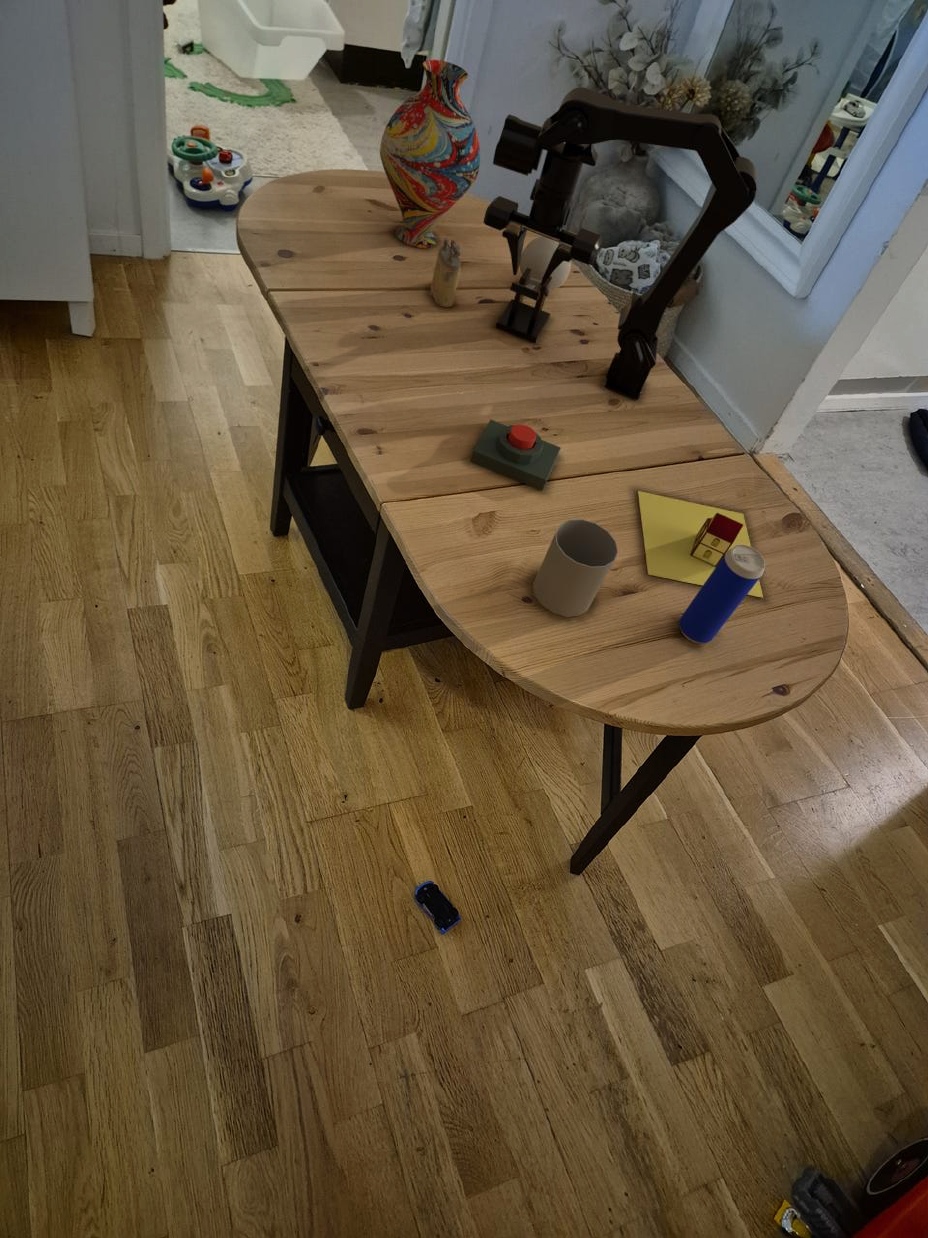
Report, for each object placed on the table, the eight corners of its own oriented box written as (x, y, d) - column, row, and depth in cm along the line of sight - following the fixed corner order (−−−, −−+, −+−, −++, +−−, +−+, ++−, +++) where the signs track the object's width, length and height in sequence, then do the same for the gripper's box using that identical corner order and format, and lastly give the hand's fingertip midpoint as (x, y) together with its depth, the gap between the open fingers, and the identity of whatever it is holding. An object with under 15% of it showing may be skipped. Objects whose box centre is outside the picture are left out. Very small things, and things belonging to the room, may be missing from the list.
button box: (556, 457, 127) (564, 438, 124) (542, 491, 121) (550, 471, 118) (487, 429, 128) (493, 409, 125) (469, 461, 122) (475, 441, 119)
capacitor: (455, 308, 148) (467, 256, 141) (435, 307, 147) (446, 255, 139) (445, 286, 152) (456, 235, 145) (426, 285, 151) (436, 234, 143)
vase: (360, 209, 164) (380, 39, 141) (446, 216, 170) (479, 55, 147) (382, 259, 153) (407, 84, 130) (473, 264, 160) (512, 99, 137)
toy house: (691, 563, 119) (716, 525, 112) (685, 532, 123) (709, 493, 117) (727, 571, 119) (754, 533, 113) (720, 539, 124) (746, 501, 117)
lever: (535, 303, 136) (540, 289, 134) (508, 293, 136) (513, 278, 135) (545, 297, 146) (549, 284, 145) (519, 287, 146) (524, 274, 145)
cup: (543, 618, 105) (567, 568, 98) (524, 571, 110) (546, 520, 102) (600, 613, 108) (627, 565, 100) (579, 568, 113) (604, 518, 105)
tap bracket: (535, 343, 147) (550, 297, 140) (495, 327, 147) (508, 280, 140) (548, 319, 153) (563, 273, 146) (510, 303, 154) (523, 257, 146)
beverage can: (707, 618, 112) (761, 545, 101) (716, 647, 109) (772, 576, 98) (674, 613, 111) (724, 540, 100) (681, 643, 108) (734, 571, 97)
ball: (518, 297, 156) (532, 248, 148) (510, 270, 162) (523, 222, 154) (566, 304, 158) (582, 256, 151) (556, 277, 164) (572, 230, 157)
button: (535, 439, 123) (539, 430, 122) (529, 453, 120) (532, 444, 119) (512, 429, 123) (515, 420, 122) (504, 444, 121) (507, 434, 119)
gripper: (623, 188, 127) (590, 279, 139) (515, 146, 128) (491, 241, 140) (609, 213, 120) (575, 308, 132) (494, 169, 121) (471, 267, 133)
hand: (528, 279), depth 134 cm, fingers open, 5 cm apart
